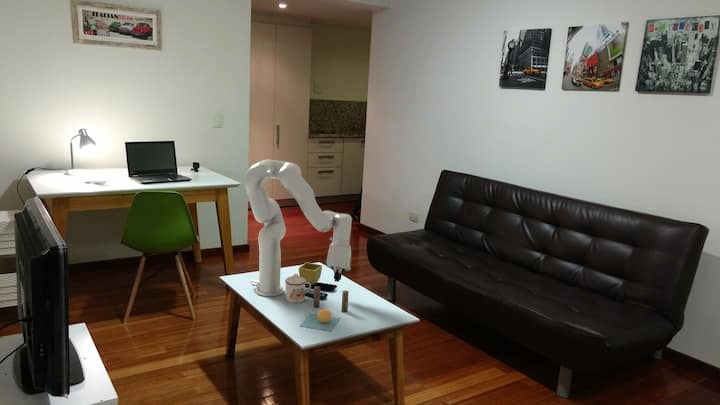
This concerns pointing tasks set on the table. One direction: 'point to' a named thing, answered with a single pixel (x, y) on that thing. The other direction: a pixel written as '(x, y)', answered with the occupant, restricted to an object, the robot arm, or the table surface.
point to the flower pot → (310, 272)
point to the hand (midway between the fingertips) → (337, 280)
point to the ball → (324, 316)
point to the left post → (316, 297)
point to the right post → (345, 301)
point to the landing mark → (319, 323)
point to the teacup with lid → (296, 288)
